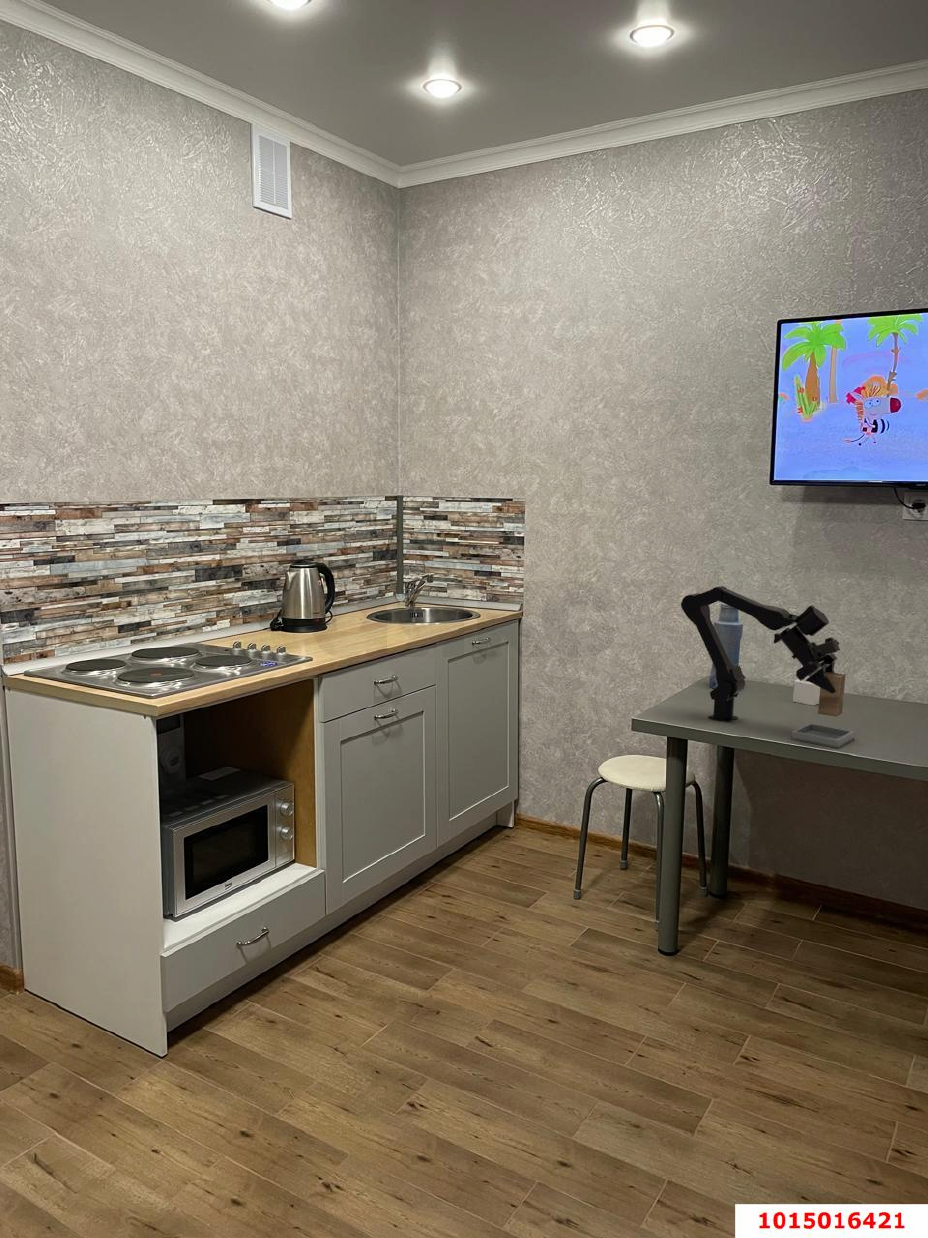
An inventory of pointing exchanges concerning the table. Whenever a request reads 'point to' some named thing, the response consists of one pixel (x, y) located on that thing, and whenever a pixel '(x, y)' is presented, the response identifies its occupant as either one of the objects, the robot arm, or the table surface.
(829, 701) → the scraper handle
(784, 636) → the robot arm
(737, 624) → the bottle
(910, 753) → the table surface
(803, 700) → the medicine bottle
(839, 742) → the tray
